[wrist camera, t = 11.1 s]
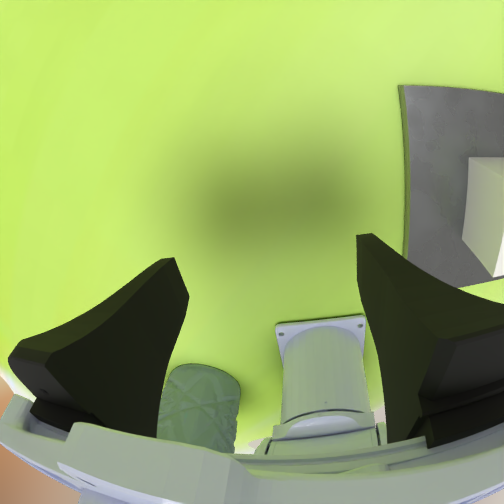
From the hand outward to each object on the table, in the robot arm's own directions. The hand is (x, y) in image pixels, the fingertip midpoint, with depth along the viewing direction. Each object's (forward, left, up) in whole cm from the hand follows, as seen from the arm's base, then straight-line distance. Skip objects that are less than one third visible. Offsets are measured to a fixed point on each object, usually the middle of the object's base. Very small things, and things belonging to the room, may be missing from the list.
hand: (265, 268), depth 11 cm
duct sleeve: (-2, -16, -8) cm, 18 cm away
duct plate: (-2, -16, -9) cm, 19 cm away
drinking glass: (-22, +12, -10) cm, 27 cm away
